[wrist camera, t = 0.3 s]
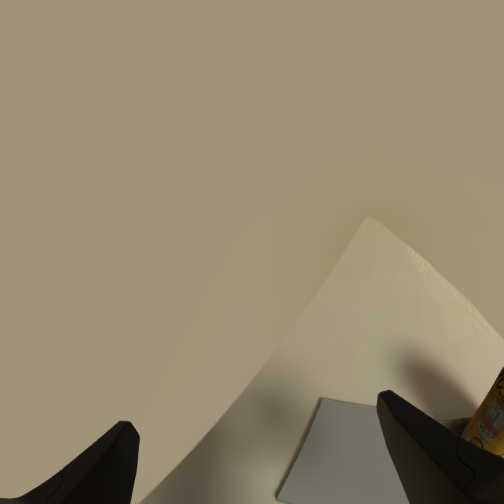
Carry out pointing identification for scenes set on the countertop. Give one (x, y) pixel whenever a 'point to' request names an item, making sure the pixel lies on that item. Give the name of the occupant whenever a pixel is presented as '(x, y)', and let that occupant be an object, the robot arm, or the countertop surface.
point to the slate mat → (344, 460)
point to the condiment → (485, 421)
